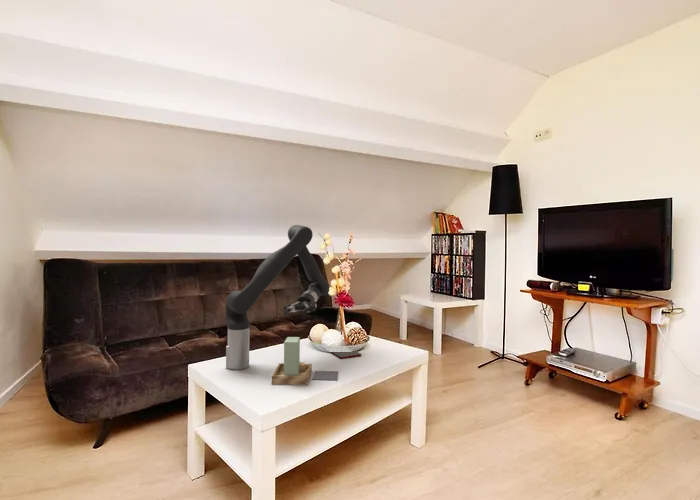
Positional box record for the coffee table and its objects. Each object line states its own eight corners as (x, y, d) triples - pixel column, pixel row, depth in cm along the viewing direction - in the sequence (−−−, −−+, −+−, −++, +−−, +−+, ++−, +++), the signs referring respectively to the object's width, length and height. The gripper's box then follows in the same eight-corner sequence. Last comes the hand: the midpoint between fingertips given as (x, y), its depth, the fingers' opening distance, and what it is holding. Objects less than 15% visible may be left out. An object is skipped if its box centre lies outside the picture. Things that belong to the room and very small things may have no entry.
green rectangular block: (283, 379, 151) (284, 342, 150) (287, 372, 159) (287, 336, 158) (296, 380, 151) (296, 342, 150) (299, 372, 159) (299, 337, 158)
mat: (312, 380, 154) (312, 379, 154) (315, 371, 164) (315, 370, 164) (337, 380, 154) (337, 379, 154) (338, 371, 164) (338, 371, 164)
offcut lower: (282, 371, 160) (282, 368, 159) (284, 369, 163) (284, 365, 163) (304, 372, 159) (304, 368, 159) (305, 369, 163) (305, 366, 163)
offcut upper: (288, 368, 159) (288, 364, 159) (289, 365, 163) (289, 362, 163) (303, 368, 159) (303, 365, 159) (304, 366, 163) (304, 362, 163)
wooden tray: (271, 384, 149) (271, 375, 149) (279, 370, 164) (279, 363, 164) (307, 384, 149) (307, 376, 149) (311, 371, 164) (311, 363, 164)
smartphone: (340, 342, 208) (362, 354, 186) (340, 344, 208) (362, 357, 186) (319, 344, 203) (340, 357, 181) (319, 347, 203) (340, 360, 181)
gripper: (292, 293, 183) (278, 306, 168) (320, 292, 179) (308, 304, 164) (295, 308, 185) (280, 321, 169) (322, 307, 181) (310, 321, 165)
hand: (294, 313), depth 167 cm, fingers open, 8 cm apart
